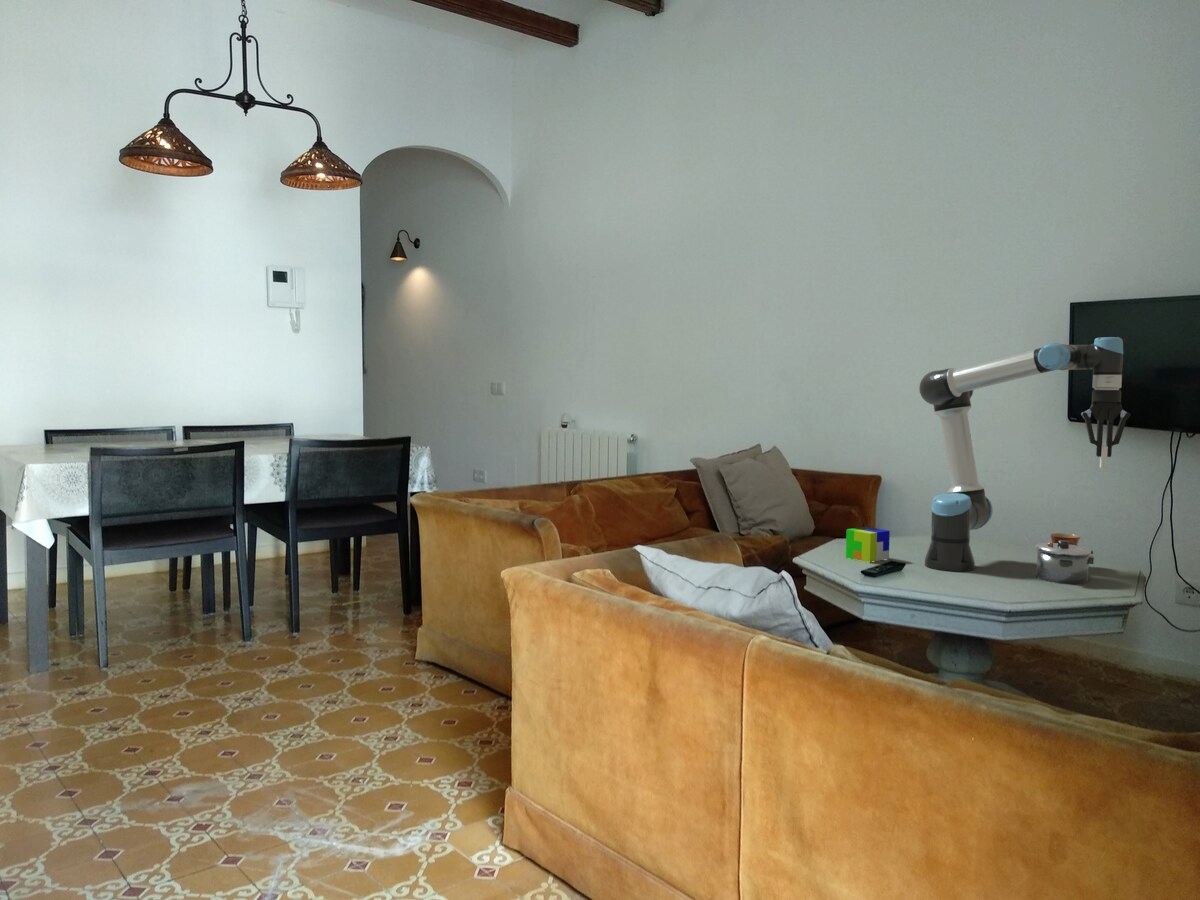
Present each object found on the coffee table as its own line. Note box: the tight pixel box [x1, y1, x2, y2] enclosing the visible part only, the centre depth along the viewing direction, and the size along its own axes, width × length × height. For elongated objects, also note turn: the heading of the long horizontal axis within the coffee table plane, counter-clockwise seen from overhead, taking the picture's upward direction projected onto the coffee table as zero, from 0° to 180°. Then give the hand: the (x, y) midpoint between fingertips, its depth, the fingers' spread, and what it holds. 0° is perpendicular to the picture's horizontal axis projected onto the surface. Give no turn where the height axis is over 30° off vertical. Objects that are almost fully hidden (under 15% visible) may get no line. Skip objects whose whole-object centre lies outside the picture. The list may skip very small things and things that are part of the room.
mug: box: [1049, 532, 1081, 546], centre depth 281 cm, size 12×9×10 cm
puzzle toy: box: [845, 526, 891, 562], centre depth 295 cm, size 10×10×10 cm
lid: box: [1035, 540, 1094, 556], centre depth 264 cm, size 15×15×3 cm
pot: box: [1035, 550, 1095, 585], centre depth 265 cm, size 15×19×8 cm
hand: (1103, 467), depth 261 cm, fingers closed
